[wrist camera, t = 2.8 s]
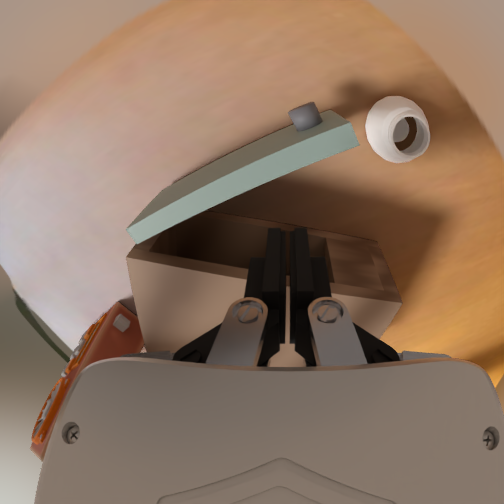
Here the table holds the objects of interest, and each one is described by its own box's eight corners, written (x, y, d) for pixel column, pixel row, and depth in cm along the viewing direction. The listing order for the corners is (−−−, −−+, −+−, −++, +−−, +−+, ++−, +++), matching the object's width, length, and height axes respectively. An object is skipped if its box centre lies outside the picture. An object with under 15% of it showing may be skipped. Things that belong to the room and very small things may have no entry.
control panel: (81, 331, 36) (117, 292, 30) (116, 357, 39) (163, 327, 32) (24, 445, 19) (33, 457, 12) (69, 472, 21) (104, 492, 15)
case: (376, 241, 22) (402, 303, 16) (328, 342, 30) (332, 400, 24) (166, 205, 23) (126, 257, 17) (173, 317, 31) (152, 371, 25)
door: (322, 93, 16) (340, 99, 11) (337, 125, 17) (359, 145, 12) (154, 177, 21) (114, 214, 16) (170, 202, 22) (136, 244, 17)
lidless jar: (371, 86, 16) (357, 150, 19) (385, 88, 13) (367, 161, 16) (430, 108, 16) (414, 167, 19) (449, 114, 13) (430, 180, 16)
